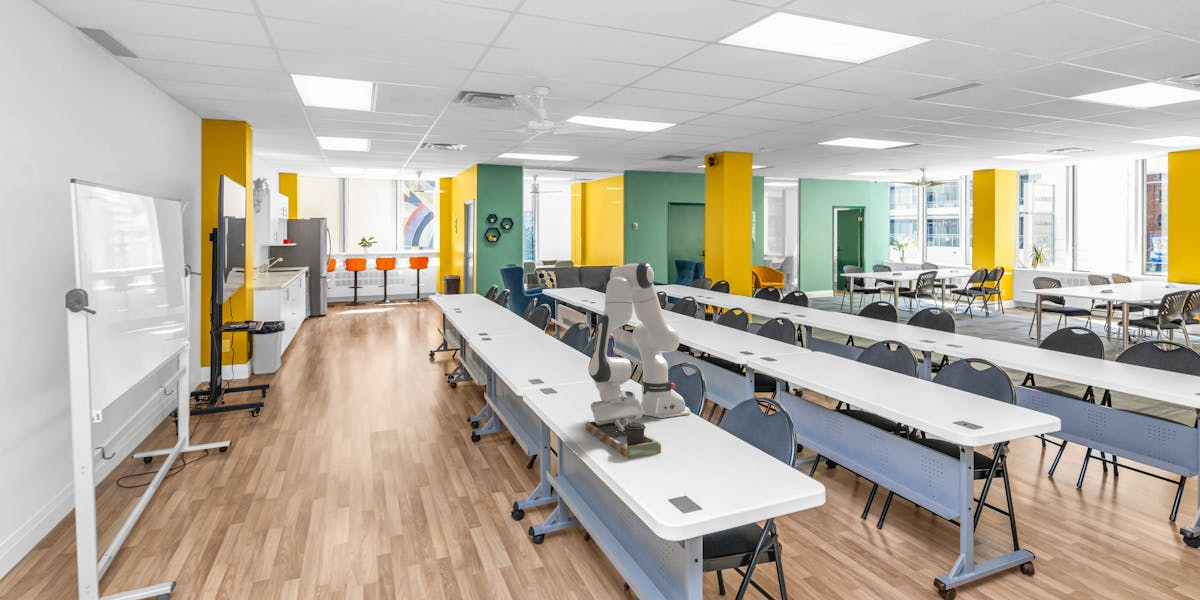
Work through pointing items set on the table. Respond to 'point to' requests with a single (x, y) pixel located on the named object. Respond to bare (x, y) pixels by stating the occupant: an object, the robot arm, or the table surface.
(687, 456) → the table surface
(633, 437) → the coffee cup
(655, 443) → the trap box
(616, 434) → the mats
